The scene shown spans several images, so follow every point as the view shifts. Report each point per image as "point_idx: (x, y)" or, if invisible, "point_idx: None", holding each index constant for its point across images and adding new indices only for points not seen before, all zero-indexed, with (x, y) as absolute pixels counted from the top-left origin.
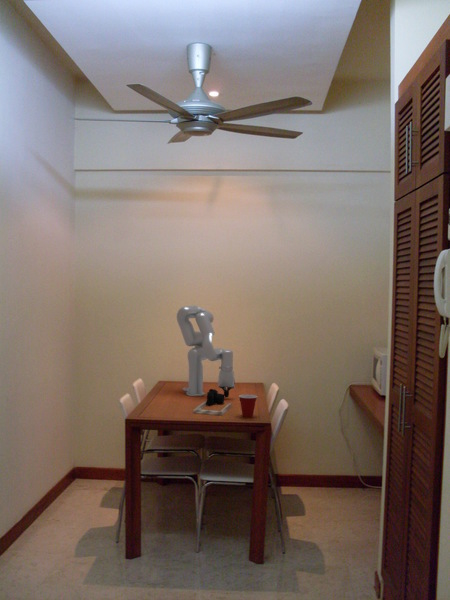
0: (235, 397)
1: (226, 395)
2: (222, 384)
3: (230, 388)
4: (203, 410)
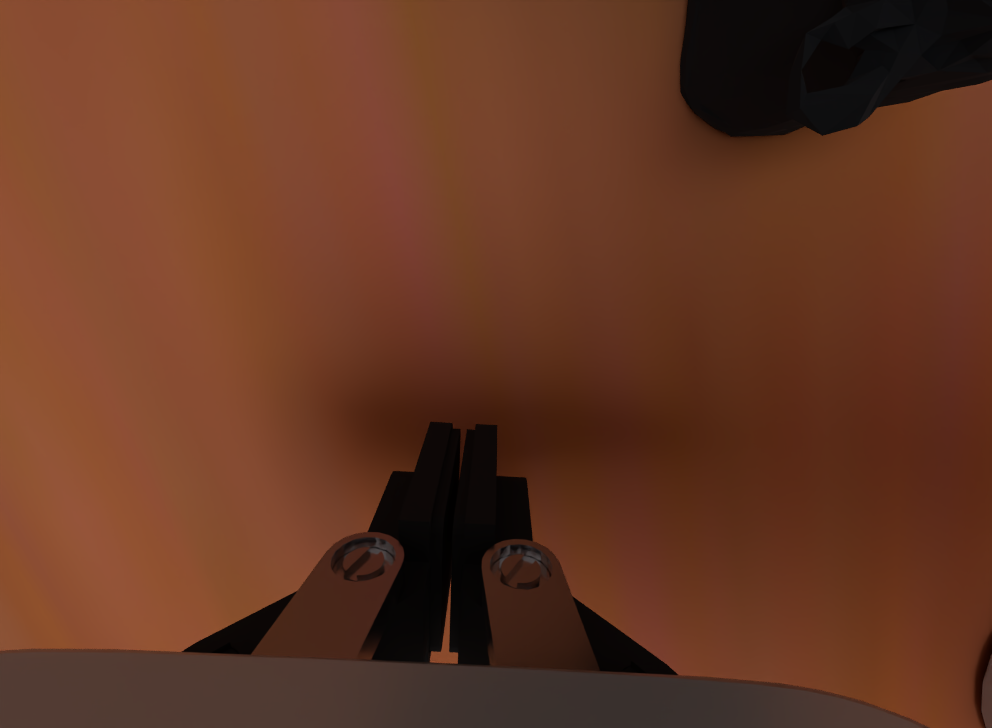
0: None
1: (438, 443)
2: None
3: (195, 648)
4: None
